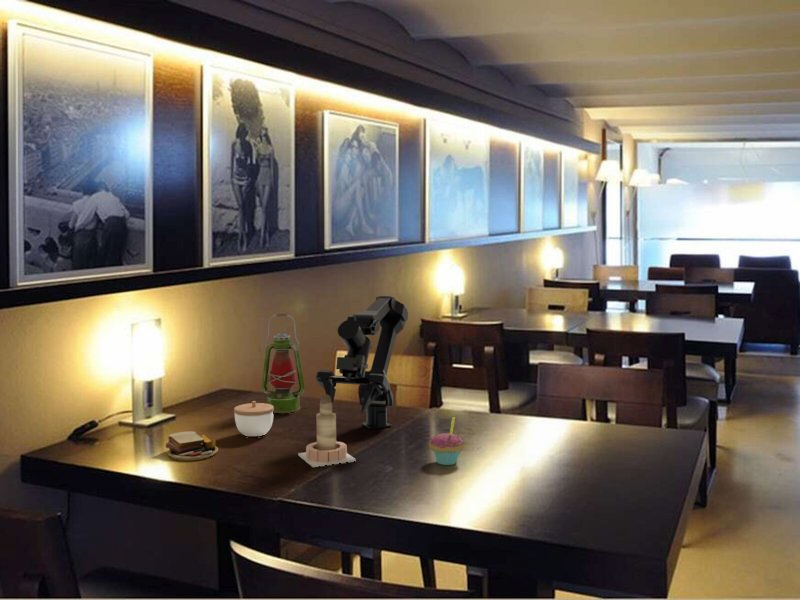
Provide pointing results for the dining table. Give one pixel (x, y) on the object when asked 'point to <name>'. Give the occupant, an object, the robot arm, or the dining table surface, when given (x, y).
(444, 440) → the cupcake
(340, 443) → the ring
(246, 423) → the lidded jar
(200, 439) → the toy sandwich meal
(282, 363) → the lantern
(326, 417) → the pepper mill
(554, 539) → the dining table surface
